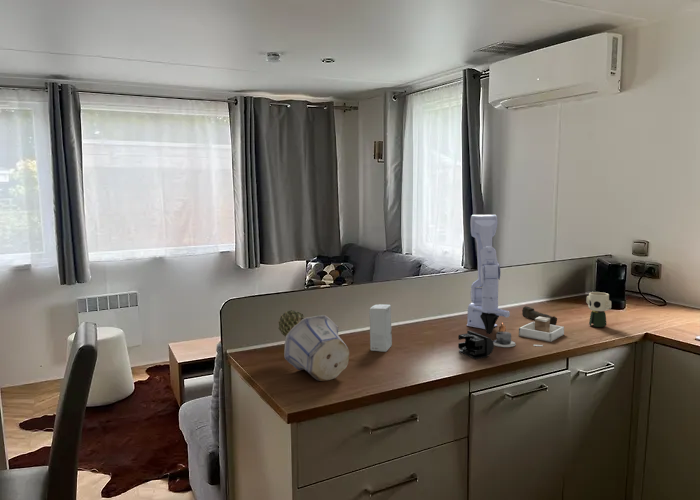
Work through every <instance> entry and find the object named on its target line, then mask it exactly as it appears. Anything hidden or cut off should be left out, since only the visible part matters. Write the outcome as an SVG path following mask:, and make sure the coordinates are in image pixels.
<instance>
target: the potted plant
mask: <svg viewBox="0 0 700 500" xmlns="http://www.w3.org/2000/svg"><path fill="white" fill-rule="evenodd" d="M277 323H278V330H279V331H280V333H281V334H282V336H283V337H285V339H284V351H283V352H284V353H283V354H284V359H285V360H286V361H287V362H288V363H289V364H290V365H292V366H293V368H295V369H296V370H298V371H302V370H303V371H304V370H305V372H307V373H308V374H309V375H310V376H311V377H312V378H313V379H315V380H316V381H319V382H326V381H330V380H331V381H332V380H333V379H336V378H337V377H338V376H339V375H340V374H341V373H342V372H343V371H344V370H346V368H347V366H348V365H349V359H350V349H349V347H348V346H347V344H346V343H345V342H344V340H343V339H342V338H341V337H340V335H339V326H338V325H337V324H336V323H335V321H333V320H332V319H331V318H329V316H327V315H325V314H321V315H314V316H307V317H305V316H304V314H303V313H301V312H299V311H297V310H291V309H289V310H287V311H284V313H282V314H281V315H280V317H279V320H278V322H277Z"/></svg>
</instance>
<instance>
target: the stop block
mask: <svg viewBox="0 0 700 500" xmlns="http://www.w3.org/2000/svg"><path fill="white" fill-rule="evenodd" d="M534 322H535V330H536V331H542V332H547V333H550V318H546V317H540V316H539V317H537V318H535V319H534Z"/></svg>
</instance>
